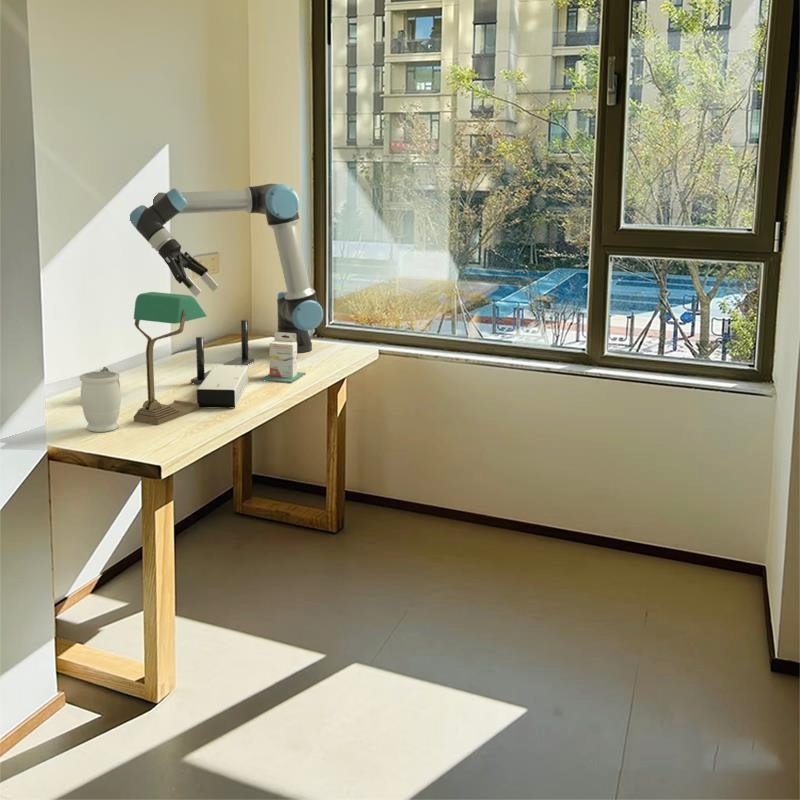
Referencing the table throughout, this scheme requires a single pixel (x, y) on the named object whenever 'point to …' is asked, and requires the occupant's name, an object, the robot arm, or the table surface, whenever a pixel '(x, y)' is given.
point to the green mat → (283, 378)
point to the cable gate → (237, 361)
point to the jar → (100, 400)
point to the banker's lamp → (165, 311)
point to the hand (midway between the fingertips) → (207, 291)
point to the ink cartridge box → (283, 355)
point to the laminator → (223, 386)
